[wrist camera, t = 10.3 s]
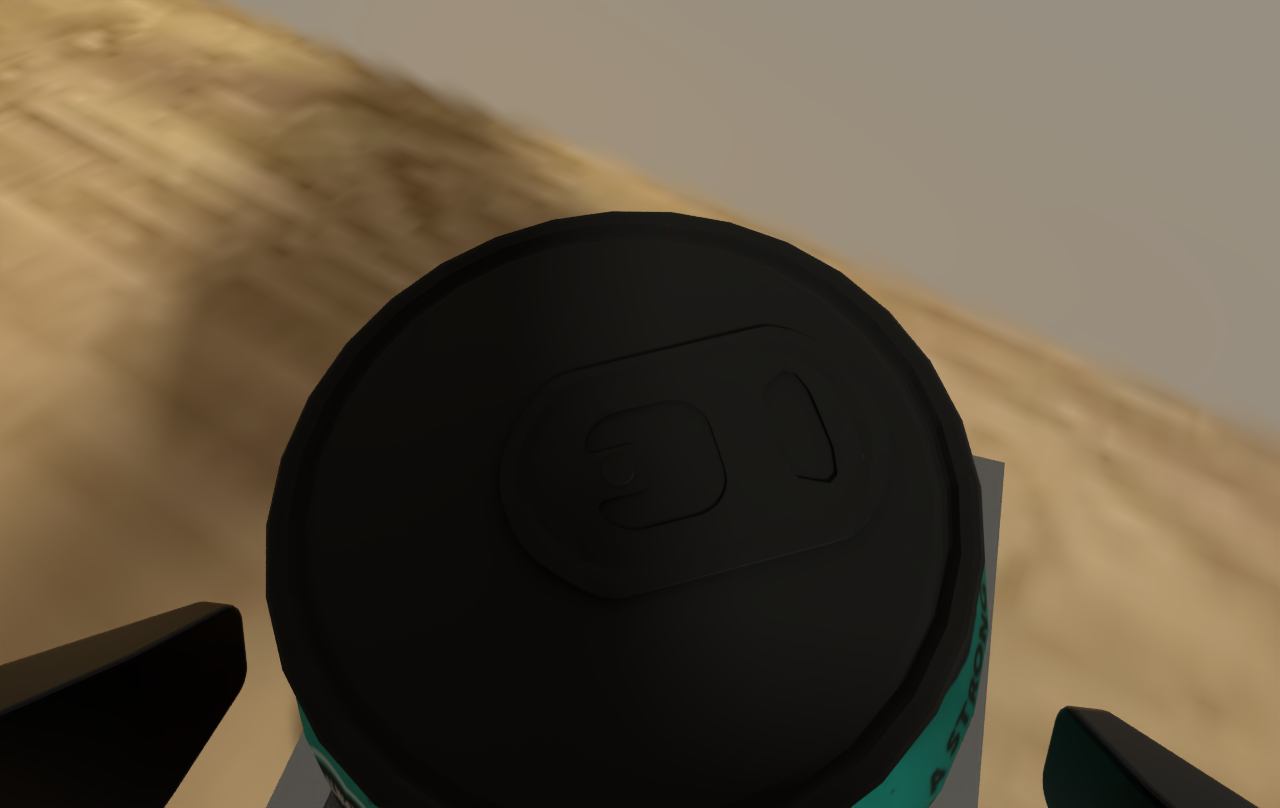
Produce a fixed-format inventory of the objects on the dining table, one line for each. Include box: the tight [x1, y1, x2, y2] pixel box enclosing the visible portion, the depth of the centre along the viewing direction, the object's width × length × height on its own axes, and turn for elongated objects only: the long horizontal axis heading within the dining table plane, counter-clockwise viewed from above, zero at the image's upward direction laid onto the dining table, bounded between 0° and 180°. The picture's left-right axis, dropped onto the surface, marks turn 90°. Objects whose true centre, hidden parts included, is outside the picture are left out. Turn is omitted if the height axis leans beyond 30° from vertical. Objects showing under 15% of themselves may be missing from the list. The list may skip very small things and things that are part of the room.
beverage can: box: [266, 211, 989, 808], centre depth 11 cm, size 7×7×12 cm
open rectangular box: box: [266, 455, 1005, 808], centre depth 16 cm, size 12×12×4 cm
